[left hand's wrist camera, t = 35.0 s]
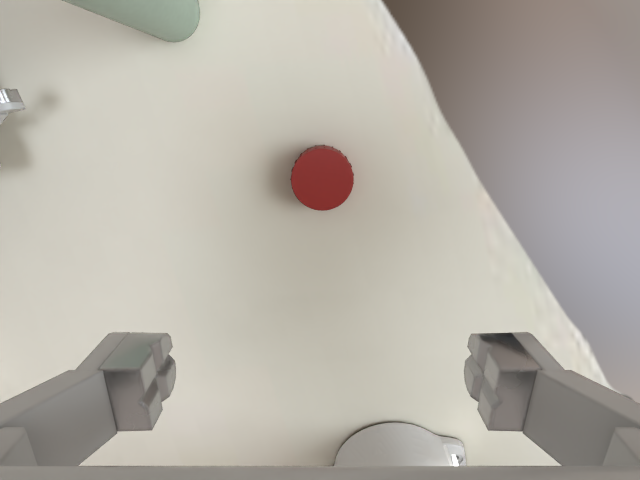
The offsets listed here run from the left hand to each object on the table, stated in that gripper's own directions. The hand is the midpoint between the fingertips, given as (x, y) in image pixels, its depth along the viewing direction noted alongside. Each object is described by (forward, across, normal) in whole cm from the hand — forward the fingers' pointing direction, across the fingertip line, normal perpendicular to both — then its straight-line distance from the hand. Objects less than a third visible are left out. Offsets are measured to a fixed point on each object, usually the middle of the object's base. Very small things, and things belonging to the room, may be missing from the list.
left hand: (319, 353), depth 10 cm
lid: (+26, 0, 0) cm, 26 cm away
